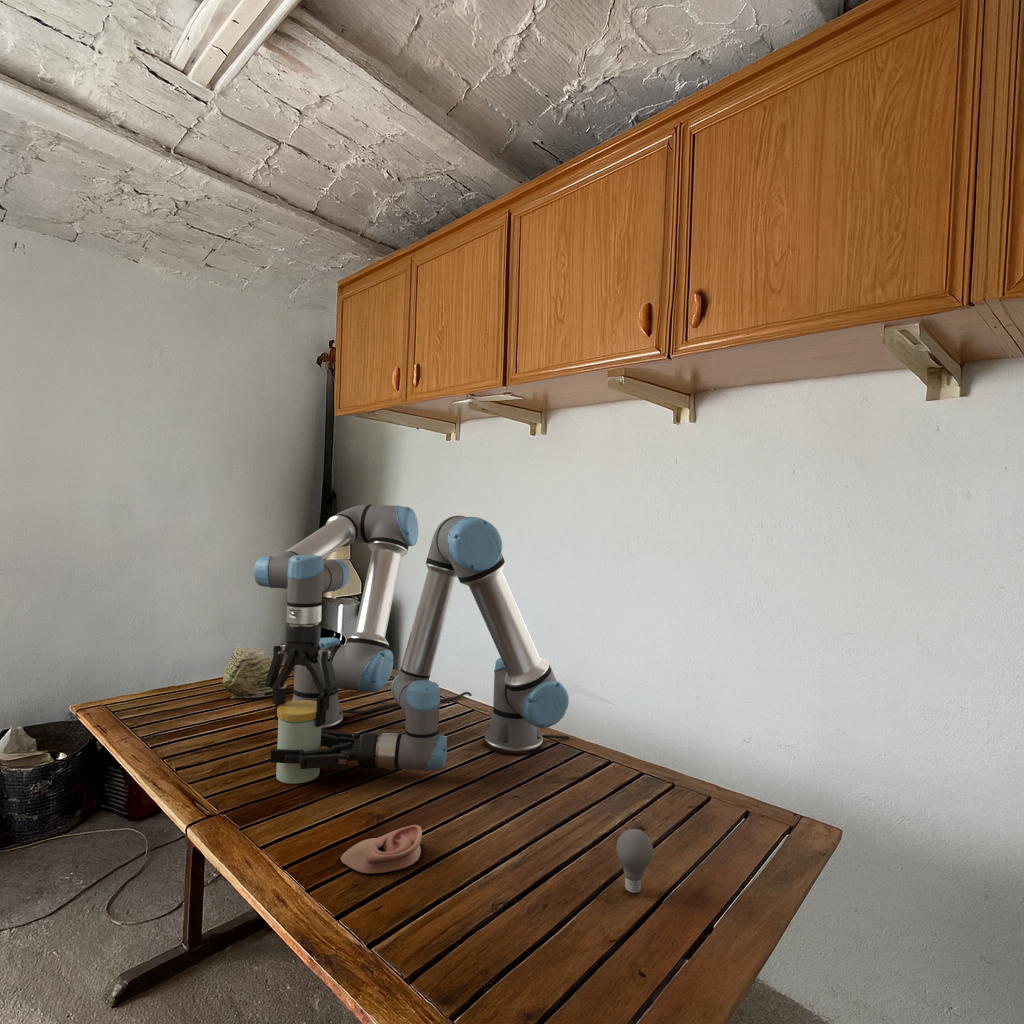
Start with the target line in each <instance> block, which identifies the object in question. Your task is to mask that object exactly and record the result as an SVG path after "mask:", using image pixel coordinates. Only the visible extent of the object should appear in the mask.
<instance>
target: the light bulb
mask: <svg viewBox="0 0 1024 1024" xmlns="http://www.w3.org/2000/svg"><path fill="white" fill-rule="evenodd" d="M615 849H616V854H617V857H618V859H619V861H620V863H621V865H622V867H623V873H624V874H623V875H624V876H625V878H624V888H625V890H627V891H628V892H630V893H634V894H635V893H639V892H640V891H641V889H642V887H641V886H642V879H643V877H644V875H645V871H646V868H647V867H648V866H649V864H650V863H651V861H652V859H653V855H654V847H653V843H652V841H651V838H649V836H648V835H647V834H646V833H645V832H643V831H642V830H641V829H636V828H629V829H627V830H625V831H623V832H622V833H621V834H620V835H619V837H618V839H617V841H616V847H615Z"/></svg>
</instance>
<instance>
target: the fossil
mask: <svg viewBox="0 0 1024 1024" xmlns="http://www.w3.org/2000/svg"><path fill="white" fill-rule="evenodd" d="M272 659H273V658H271V657H270V656H269V655H268V654H267V653H266V652H265V650H264V649H263V648H260V647H258V648H251V647H247V646H246V647H245V646H238V647H237V648H236V649H235V650H233V651H232V653H231V656H230V657H229V659H228V660H227V663H226V666H225V668H224V671H223V675H222V676H223V677H222V685H223V687H224V688H225V690H226V691H228V693H229V698H230V699H250V698H264V697H271V696H272V697H273V690H272V688H270V687H266V686H265V683H266V679H267V676H268V672H269V669H270V666H271V662H272ZM280 672H281V670H280V671H279V674H280ZM278 676H279V675H278ZM283 686H284V687H282V688H281V689H283V688H284V689H286V690H287V687H288V686H287V681H286V682H285V684H284V685H283Z"/></svg>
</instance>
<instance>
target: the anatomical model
mask: <svg viewBox="0 0 1024 1024" xmlns="http://www.w3.org/2000/svg"><path fill="white" fill-rule="evenodd" d="M422 839H423V830H422V827H421V826H420V825H418V824H412V825H407V826H403V827H400V828H397V829H395V830H392V831H390V832H388V833H386V834H383V835H380V836H379V837H373V838H367V839H364V840H361V841H359V842H357V843H356V844H354V845H352V846H351V847H350V848H348V849H347V850H345V851H344V852H343V853H342V855H341V856H340V861H341V862H342V864H344V865H346V867H348V868H350V869H352V870H354V871H357V872H359V873H362V874H381V873H388V872H393V871H398V870H402V869H405V868H407V867H409V866H411V865H414V864H415V863H416V862H417V861H418V860H419V859H420V857H421V853H422V850H421V842H422Z"/></svg>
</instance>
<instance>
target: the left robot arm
mask: <svg viewBox="0 0 1024 1024" xmlns="http://www.w3.org/2000/svg"><path fill="white" fill-rule="evenodd" d="M418 539H419V522H418V518H417V514H416V513H415V511H414V510H413V508H411V507H409V506H402V505H383V504H367V503H365V504H359V505H355V506H352V507H348V508H346V509H344V510H341V511H340V512H338V513H336V514H334V515H333V516H331V517H330V518H328V519H327V520H326V523H325V525H323V526H322V527H320V528H319V529H317V530H316V531H314V532H313V533H311V534H309V535H308V536H307V537H304V539H302V540H300V541H299V542H297V543H296V544H294V545H292V546H291V547H290V548H288V549H287V550H285V551H283V552H282V553H280V554H279V555H277V556H273V555H269V556H261V557H259V558H258V559H257V560H256V562H255V564H254V566H253V579H254V582H255V583H256V584H257V585H258V586H260V587H264V588H270V589H284V590H287V596H286V597H287V598H286V599H287V601H286V620H285V621H286V623H287V625H285V642H286V643H285V644H284V643H279V644H276V645H273V649H272V651H273V652H272V653H273V656H272V658H271V659H272V662H271V666H270V669H269V672H268V676H267V679H266V683H265V686H266V687H270V688H272V690H273V695H272V704H273V705H274V721H278V717H277V708H278V706H280V705H281V704H284V703H286V700H287V699H286V697H287V696H286V695H287V688H286V689H284V688H283V689H281V688H282V687H284V686H283V685H284V684H285V682H286V683H287V680H288V678H289V676H290V675H291V673H292V672H293V670H294V672H293V695H292V696H293V697H292V699H291V701H298V700H311V701H317V708H316V727H319V726H321V730H323V729H325V730H332V729H335V728H337V727H339V726H340V725H342V723H343V722H344V714H356V715H364V714H369V713H372V712H375V711H378V710H381V709H382V710H383V709H386V708H392V707H394V708H395V707H401V706H400V705H399V704H398V703H397V702H396V703H390V704H384V705H379V706H376V707H372V708H369V709H367V710H366V709H365V710H352V709H342V706H341V702H340V699H339V695H338V692H339V690H344V691H345V690H347V691H354V692H360V693H378V692H380V691H381V690H382V689H383V688H384V687H385V686H386V685H387V684H388V682H389V680H390V677H391V675H392V672H393V668H394V654H393V651H392V650H390V649H389V648H390V644H389V642H388V640H387V639H386V634H387V629H388V625H389V621H390V620H389V619H390V615H391V610H392V605H393V601H394V596H395V595H394V594H395V590H396V585H397V580H398V576H399V570H400V566H401V561H402V560H401V559H402V558H403V557H404V556H406V555H407V554H408V551H409V548H410V547H413V546H416V544H417V542H418ZM356 543H357V544H358V543H361V544H367V547H368V549H369V550H370V551H371V555H370V558H369V564H368V569H367V573H366V578H365V581H364V587H363V592H362V596H361V599H360V604H359V608H358V609H359V610H358V614H357V619H356V623H355V628H354V632H353V633H352V634H350V635H349V636H347V638H346V641H345V645H344V644H343V645H342V644H340V643H341V641H340V639H339V638H338V637H334V636H333V637H321V636H322V635H321V634H322V633H321V631H322V625H321V624H320V623H321V622H322V612H323V611H322V607H323V605H322V603H323V594H327V593H331V592H335V591H338V590H340V589H343V588H344V587H345V586H347V584H348V582H349V580H350V577H351V576H350V575H351V573H350V569H349V567H348V565H347V564H346V563H345V562H344V561H343V560H340V559H332V558H330V559H327V558H328V557H329V556H331V555H332V554H333V553H335V552H337V551H338V550H339V549H340V548H344V547H345V548H346V547H348V546H350V545H352V544H356ZM326 559H327V560H326ZM285 654H286V655H287V658H286V659H285V661H284V658H285ZM283 662H284V663H283ZM282 664H283V667H282ZM279 671H280V674H279ZM278 675H279V676H278ZM466 695H467V696H469V697H472V696H473V694H472V693H471V692H469V691H463V692H462V693H460V694H458V695H456V696H455V695H454V696H450V697H445V698H440V703H443V702H448V701H453V700H457V699H458V700H459V699H460V698H462V697H464V696H466Z"/></svg>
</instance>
